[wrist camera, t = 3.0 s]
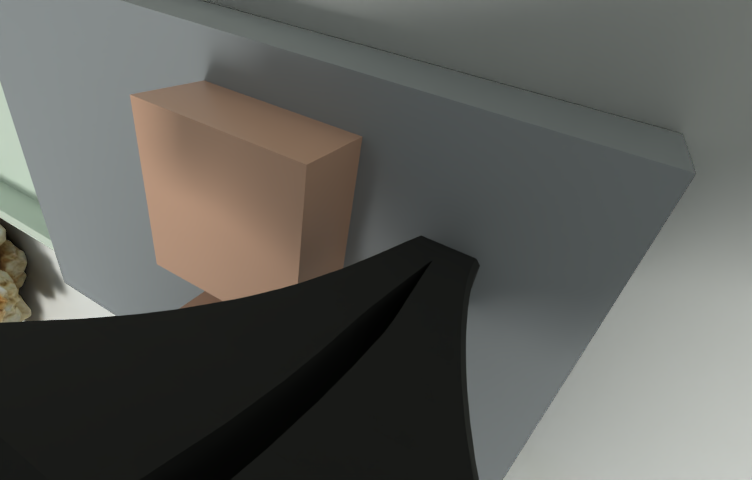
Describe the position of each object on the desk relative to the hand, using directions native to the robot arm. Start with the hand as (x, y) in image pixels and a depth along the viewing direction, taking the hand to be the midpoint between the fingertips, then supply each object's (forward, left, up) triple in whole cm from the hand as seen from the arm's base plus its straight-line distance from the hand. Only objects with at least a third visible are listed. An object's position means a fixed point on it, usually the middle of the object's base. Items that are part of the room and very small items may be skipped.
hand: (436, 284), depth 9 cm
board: (-3, +7, -3) cm, 8 cm away
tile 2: (0, +5, 0) cm, 5 cm away
